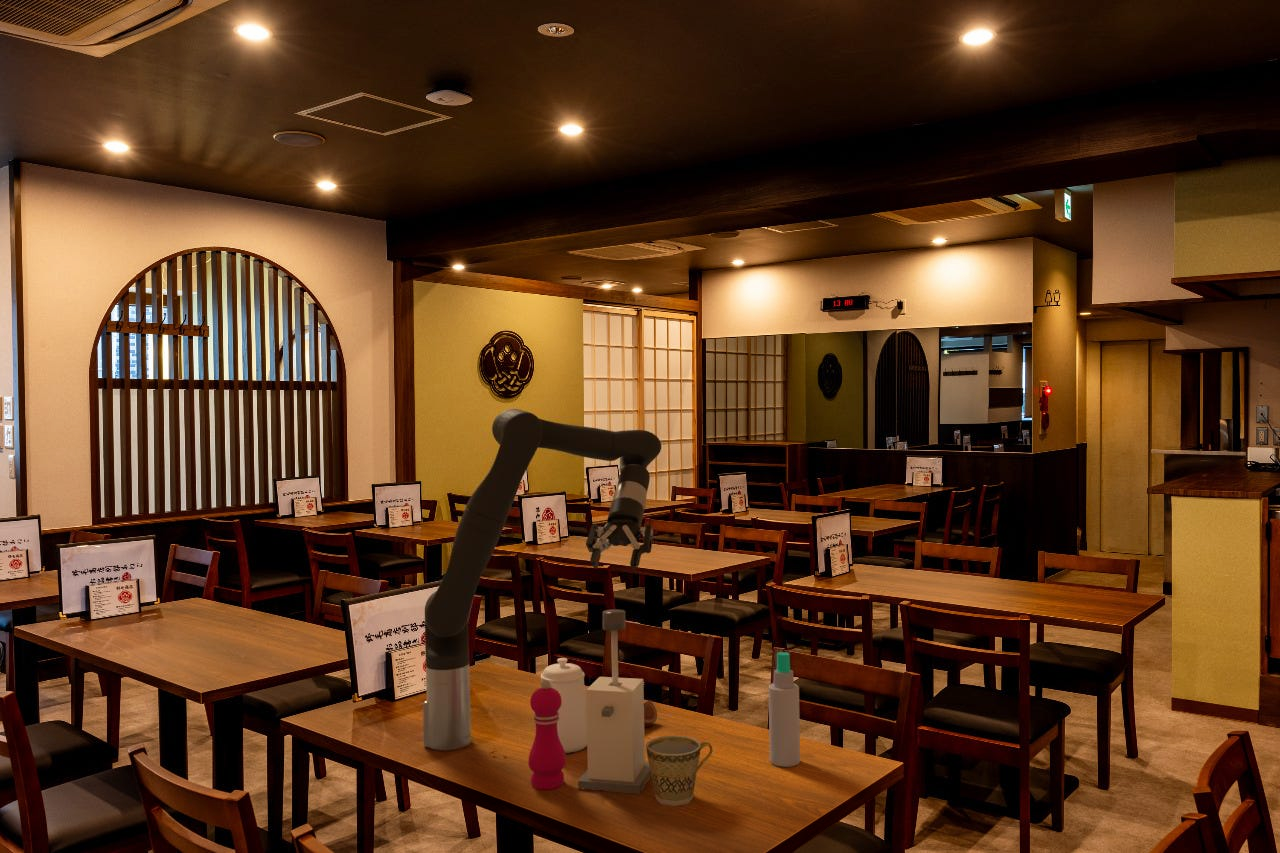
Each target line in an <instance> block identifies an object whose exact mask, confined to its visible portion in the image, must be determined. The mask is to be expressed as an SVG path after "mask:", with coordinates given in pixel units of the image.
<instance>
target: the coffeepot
mask: <svg viewBox="0 0 1280 853" xmlns="http://www.w3.org/2000/svg"><path fill="white" fill-rule="evenodd" d="M556 662H557V663H553V664H551V665H548V666H546V667H545V668H544V669H543V672H542V673H541V675H540V680H541V682H542V681H544V680H548V681H549V682H550V688H554V689H556V690H557V691H558V692H559V693H560V696H561V700H562V704H561V707H560V709H559V710H558V711H557V712H559V721H558V722H557V731H558V736H559V739H560V742H561V744H562V746H563V749H564V752H565V754H571V752H572V753H577V752H579V751H581V750H583V749H585V748H587V702H586V690H585V672H584V671H583V670H582V668H581V667H580V666H579V665H577V664H574V663H570V662H569V663H567V662H568V658H566V657H560V658H557V659H556ZM540 688H542V687H540Z"/></svg>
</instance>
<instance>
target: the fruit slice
mask: <svg viewBox="0 0 1280 853" xmlns="http://www.w3.org/2000/svg"><path fill="white" fill-rule="evenodd" d="M657 718H658V711H657V709H656V707H655V704H654V703H653V702H652V700H651V699H648V700H647V701H646V702H644V728H647V727H649V726H652V725H653V724H654V723H656V721H657Z"/></svg>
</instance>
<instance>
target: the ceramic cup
mask: <svg viewBox="0 0 1280 853" xmlns="http://www.w3.org/2000/svg"><path fill="white" fill-rule="evenodd" d="M645 745H646V746H645V747H646V753H647V754H646V755H647V762H649V766H650V770H651V776H650V777H651V781H652V784H653V785H652V786H653V790H654V796H655V799H656V801H657V802H658V803H659V804H661V805H662V806H663V805H665V806H671V807H678V806H683V805H688V804H690V802H691V801H692V800H693V798H694V793H695V786H696V784H695V783H696V778H697V773H698V771H699V770H700V769H701V767H702V766H703V765H704V764H705V762H706V761H707V760H708V759H709V758H710V757H711V756H712V755H713V754H712V753H713V746H712V744H710V742H706V741H705V742H704V741H703V742H700V741H698V740H697V739H695V738H692V737H689V736H684V735H664V736H659V737H656V738H653V739H651V740H649V741H647V743H646V744H645ZM707 746H708V748H709V753H707V755H706V756H705V757H704V758H703V759H702V760H701V761H700V755H701V751H702V749H704V748H705V747H707ZM699 762H700V763H699Z"/></svg>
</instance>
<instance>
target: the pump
mask: <svg viewBox="0 0 1280 853" xmlns="http://www.w3.org/2000/svg"><path fill="white" fill-rule="evenodd" d="M602 629H603V630H604V631H606V632H607V631H609V632H610V634H611V636H610V638H611V639H610V640H611V677H612V686H618V678H619V647H618V640H619V639H618V638H619V636H618V631H624V630H626V610H624V609H615V608H614V609H613V608H612V609H606V610H603V611H602Z"/></svg>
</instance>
